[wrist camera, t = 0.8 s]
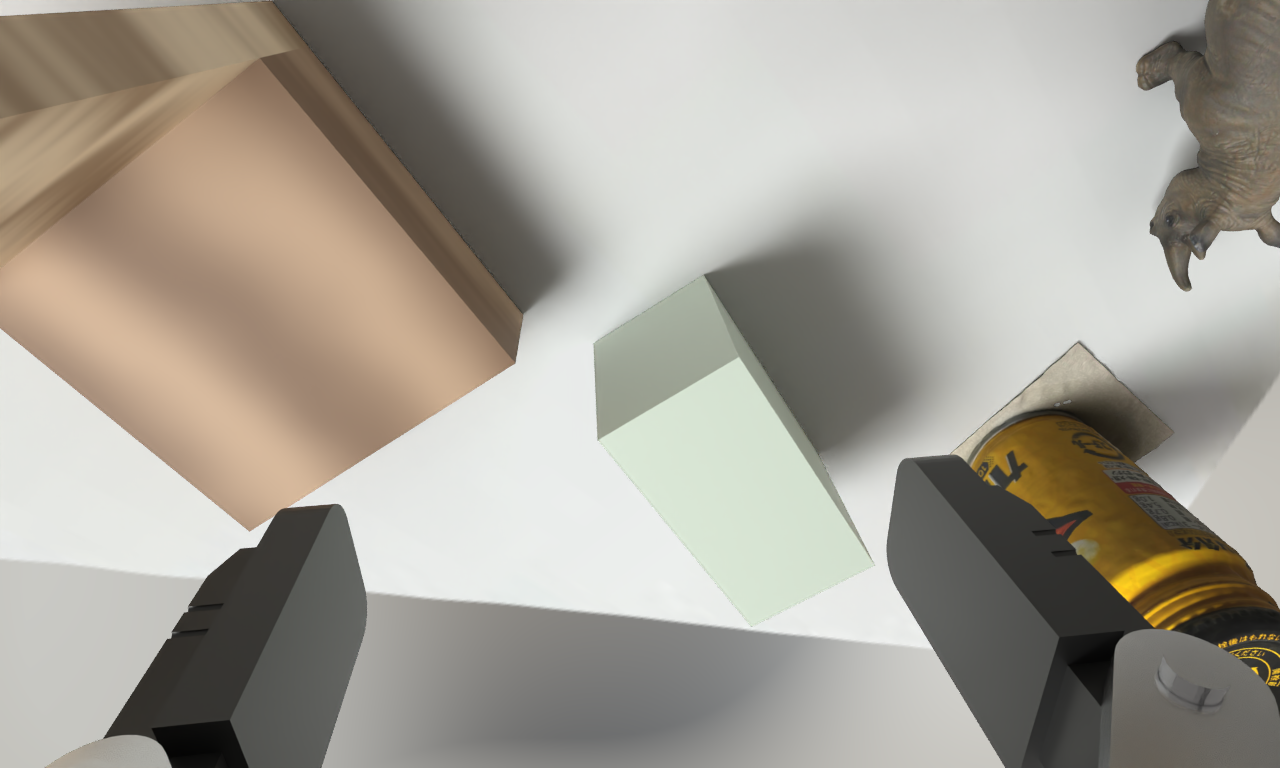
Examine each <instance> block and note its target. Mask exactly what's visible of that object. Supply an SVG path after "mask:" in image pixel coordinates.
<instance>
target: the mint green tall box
mask: <svg viewBox="0 0 1280 768" xmlns="http://www.w3.org/2000/svg"><path fill="white" fill-rule="evenodd" d="M593 344H594V367H595V390H596V414H597V437H598V441H599V443H600V444H601V445H602V446H603V447H604V449H605V450H606V451H607V452H608V453H609V455H610V456H611V457H612V458H613V460H614V461H615V462H616V463H617V464H618V466H619V467H620V468H621V469H622V470H623V472H624V473H625V474H626V475H627V477H628V478H629V479H630V480H631V481H632V483H633V484H634V485H635V486H636V487H637V489H638V490H639V491H640V492H641V494H642V495H643V496H644V497H645V498H646V500H647V501H648V502H649V503H650V505H651V506H652V507H653V508H654V509H655V511H656V512H657V513H658V514H659V515H660V517H661V518H662V519H663V520H664V522H665V523H666V524H667V525H668V526H669V528H670V529H671V530H672V531H673V532H674V534H675V535H676V536H677V537H678V539H679V540H680V541H681V542H682V543H683V545H684V546H685V547H686V548H687V549H688V551H689V552H690V553H691V554H692V556H693V557H694V558H695V559H696V560H697V562H698V563H699V564H700V565H701V566H702V568H703V569H704V570H705V571H706V573H707V574H708V575H709V576H710V577H711V579H712V580H713V581H714V582H715V584H716V585H717V586H718V587H719V588H720V590H721V591H722V592H723V593H724V594H725V596H726V597H727V598H728V599H729V601H730V602H731V603H732V604H733V605H734V607H735V608H736V609H737V610H738V611H739V613H740V614H741V615H742V616H743V618H744V619H745V620H746V621H747V622H748V624H749V625H750V626H751V627H753V626H755V625H757V624H759V623H761V622H763V621H765V620H767V619H769V618H771V617H773V616H775V615H777V614H779V613H781V612H783V611H785V610H787V609H789V608H791V607H793V606H795V605H797V604H799V603H801V602H803V601H805V600H807V599H809V598H811V597H813V596H815V595H817V594H819V593H821V592H823V591H825V590H827V589H829V588H831V587H833V586H835V585H837V584H839V583H841V582H843V581H845V580H847V579H849V578H851V577H853V576H855V575H857V574H859V573H861V572H863V571H865V570H867V569H869V568H871V567H873V566H875V565H874V563H873V561H872V559H871V557H870V555H869V553H868V551H867V549H866V547H865V545H864V543H863V541H862V539H861V537H860V535H859V533H858V531H857V529H856V527H855V525H854V523H853V522H852V520H851V518H850V516H849V514H848V512H847V510H846V508H845V506H844V504H843V502H842V500H841V498H840V496H839V494H838V492H837V490H836V488H835V486H834V484H833V482H832V480H831V478H830V476H829V474H828V473H827V471H826V469H825V467H824V465H823V463H822V461H821V459H820V457H819V455H818V453H817V452H816V450H815V449H814V447H813V445H812V444H811V442H810V441H809V439H808V438H807V436H806V434H805V433H804V431H803V430H802V428H801V427H800V425H799V424H798V422H797V420H796V419H795V417H794V416H793V414H792V413H791V411H790V409H789V408H788V406H787V405H786V403H785V402H784V400H783V398H782V397H781V395H780V394H779V392H778V391H777V389H776V387H775V386H774V384H773V383H772V381H771V380H770V378H769V376H768V375H767V373H766V372H765V370H764V369H763V367H762V365H761V364H760V362H759V361H758V359H757V358H756V356H755V354H754V353H753V351H752V350H751V348H750V347H749V345H748V343H747V342H746V340H745V339H744V337H743V336H742V334H741V332H740V331H739V329H738V328H737V326H736V325H735V323H734V322H733V320H732V318H731V317H730V315H729V314H728V312H727V311H726V309H725V307H724V306H723V304H722V303H721V301H720V300H719V298H718V296H717V295H716V293H715V292H714V290H713V289H712V287H711V285H710V284H709V282H708V281H707V279H706V278H705V276H704V275H702V276H701V277H699V278H697V279H696V280H694V281H693V282H691V283H689V284H688V285H686V286H685V287H683V288H681V289H680V290H678V291H677V292H675V293H673V294H672V295H670V296H669V297H667V298H665V299H664V300H662V301H661V302H659V303H657V304H656V305H654V306H653V307H651V308H649V309H648V310H646V311H645V312H643V313H641V314H640V315H638V316H636V317H635V318H633V319H632V320H630V321H628V322H627V323H625V324H624V325H622V326H620V327H619V328H617V329H616V330H614V331H612V332H611V333H609V334H608V335H606V336H604V337H603V338H601V339H600V340H598V341H596V342H595V343H593Z"/></svg>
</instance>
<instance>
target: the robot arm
mask: <svg viewBox="0 0 1280 768" xmlns="http://www.w3.org/2000/svg"><path fill="white" fill-rule="evenodd" d="M887 560H888V566H889V570H890V574H891V577H892V580H893V582H894V584H895V586H896V588H897V590H898V591H899V593H900V594H901V596H902V598H903V599H904V601H905V603H906V604H907V606H908V608H909V609H910V611H911V613H912V614H913V616H914V618H915V619H916V621H917V623H918V624H919V626H920V627H921V629H922V631H923V632H924V634H925V636H926V637H927V639H928V641H929V642H930V644H931V646H932V647H933V649H934V651H935V652H936V654H937V656H938V657H939V659H940V660H941V662H942V664H943V665H944V667H945V669H946V670H947V672H948V674H949V675H950V677H951V679H952V680H953V682H954V683H955V685H956V687H957V689H958V690H959V692H960V694H961V695H962V697H963V698H964V700H965V702H966V703H967V705H968V707H969V708H970V710H971V712H972V713H973V715H974V717H975V718H976V720H977V722H978V723H979V725H980V727H981V728H982V730H983V731H984V733H985V735H986V736H987V738H988V740H989V741H990V743H991V745H992V746H993V748H994V750H995V751H996V753H997V755H998V756H999V758H1000V759H1001V761H1002V763H1003V764H1004V766H1005V768H1280V687H1278V686H1271V685H1267V684H1266V683H1265V682H1264V681H1263V680H1262V678H1261V677H1260V676H1259V675H1258V674H1257V673H1256V672H1255V671H1253V670H1252V669H1251V668H1250V667H1249V666H1247V665H1246V664H1245V663H1244V662H1242V661H1241V660H1240V659H1238V658H1237V657H1235V656H1233V655H1232V654H1230V653H1229V652H1227V651H1225V650H1223V649H1221V648H1220V647H1218V646H1216V645H1214V644H1211V643H1209V642H1207V641H1205V640H1202V639H1199V638H1197V637H1194V636H1191V635H1188V634H1184V633H1180V632H1176V631H1170V630H1163V629H1155V628H1154V627H1153V626H1152V625H1151V624H1150V623H1149V622H1148V621H1147V620H1146V619H1145V618H1144V617H1143V616H1142V615H1141V614H1140V613H1139V612H1138V611H1137V610H1136V609H1135V608H1134V607H1133V606H1132V605H1131V604H1130V603H1129V602H1128V601H1127V600H1126V599H1125V598H1124V597H1123V596H1122V595H1121V594H1120V593H1119V592H1118V591H1117V590H1116V589H1115V588H1114V587H1113V586H1112V585H1111V584H1110V583H1109V582H1108V581H1107V580H1106V579H1105V578H1104V577H1103V576H1102V575H1101V574H1100V573H1099V572H1098V571H1097V570H1096V569H1095V568H1094V567H1093V566H1092V565H1091V564H1090V563H1089V562H1088V561H1087V560H1086V559H1085V558H1084V557H1083V556H1082V555H1077V553H1076V549H1075V548H1074V547H1073V546H1072V545H1071V544H1070V543H1069V542H1068V541H1067V540H1066V539H1065V538H1064V537H1063V536H1062V535H1061V534H1057V533H1056V529H1055V528H1054V527H1053V526H1052V525H1051V524H1050V523H1049V522H1048V521H1047V520H1046V519H1045V518H1044V517H1043V516H1042V515H1041V514H1040V513H1039V512H1038V511H1037V510H1036V509H1035V508H1034V507H1033V506H1032V505H1031V504H1030V503H1028V502H1026V501H1024V500H1023V499H1021V498H1019V497H1017V496H1016V495H1014V494H1012V493H1010V492H1009V491H1007V490H1005V489H1003V488H1001V487H1000V486H998V485H992V486H988V485H987V484H986V483H985V482H984V481H983V479H982V478H981V477H980V476H979V475H978V474H977V473H976V472H975V471H974V470H973V469H972V468H971V467H970V466H969V465H968V464H967V462H966V461H965V460H964V459H963V458H961V457H960V456H958V455H955V454H954V455H942V456H930V457H917V458H906V459H904V460H902V462H901V463H900V465H899V467H898V471H897V476H896V483H895V490H894V497H893V504H892V511H891V517H890V524H889V531H888V538H887ZM188 608H189V609H188V612H186V613H184V614H183V616H182V617H181V618H180V620H179V622H178V623H177V625H176V626H175V628H174V629H173V631H172V638H171V639H167V640H166V642H165V643H164V645H163V646H162V648H161V649H160V651H159V653H158V654H157V656H156V657H155V659H154V661H153V662H152V663H151V665H150V667H149V668H148V670H147V671H146V673H145V674H144V676H143V678H142V679H141V681H140V682H139V684H138V685H137V687H136V688H135V690H134V692H133V693H132V695H131V696H130V698H129V699H128V701H127V702H126V704H125V706H124V707H123V709H122V710H121V712H120V713H119V715H118V716H117V718H116V720H115V721H114V723H113V724H112V726H111V727H110V729H109V730H108V732H107V734H106V735H105V737H104V738H103V739H101V740H98V741H95V742H92V743H89V744H87V745H84V746H82V747H80V748H78V749H76V750H73V751H71V752H69V753H68V754H66V755H64V756H62V757H61V758H59V759H57V760H55V761H54V762H52V763H51V764H49V765H48V766H46V767H45V768H321V767H322V764H323V761H324V758H325V754H326V751H327V748H328V745H329V742H330V739H331V736H332V733H333V730H334V726H335V723H336V720H337V717H338V714H339V711H340V708H341V705H342V701H343V699H344V695H345V692H346V689H347V686H348V683H349V680H350V676H351V674H352V670H353V667H354V664H355V661H356V658H357V655H358V652H359V649H360V646H361V643H362V639H363V636H364V632H365V626H366V618H367V600H366V592H365V587H364V583H363V579H362V575H361V571H360V567H359V563H358V559H357V555H356V551H355V547H354V543H353V539H352V536H351V532H350V528H349V524H348V520H347V516H346V514H345V511H344V509H343V508H342V506H341V505H339V504H331V505H318V506H306V507H294V508H283V509H281V510H279V511H278V512H277V514H276V515H275V517H274V518H273V520H272V522H271V524H270V525H269V527H268V529H267V530H266V532H265V534H264V536H263V537H262V539H261V541H260V542H259V544H258V546H257V547H255V548H243V549H239V550H238V551H237V552H236V553H235V554H233V555H232V556H231V557H230V558H229V559H227V560H226V561H225V562H224V563H223V564H221V565H220V566H219V567H218V568H217V569H216V570H214V571H213V572H212V573H211V574H210V575H208V576H207V578H206V579H205V581H204V583H203V584H202V586H201V587H200V589H199V591H198V592H197V593H196V595H195V597H194V598H193V600H192V601H191V603H190V604H189V606H188Z"/></svg>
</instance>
